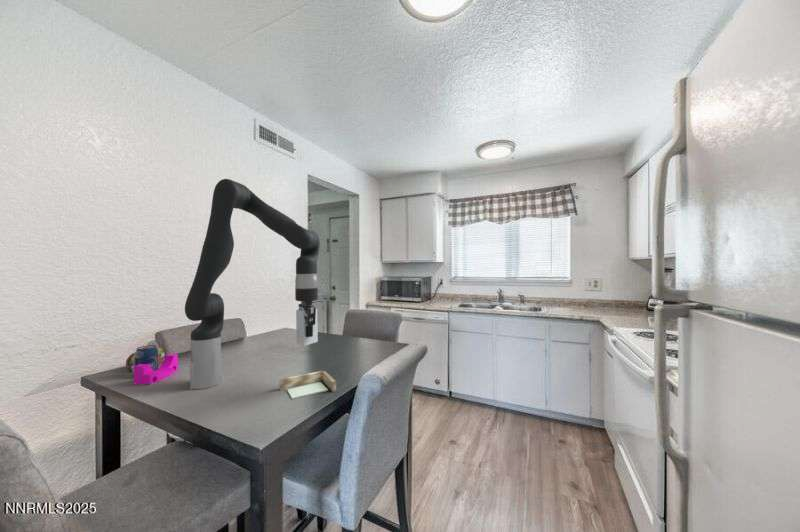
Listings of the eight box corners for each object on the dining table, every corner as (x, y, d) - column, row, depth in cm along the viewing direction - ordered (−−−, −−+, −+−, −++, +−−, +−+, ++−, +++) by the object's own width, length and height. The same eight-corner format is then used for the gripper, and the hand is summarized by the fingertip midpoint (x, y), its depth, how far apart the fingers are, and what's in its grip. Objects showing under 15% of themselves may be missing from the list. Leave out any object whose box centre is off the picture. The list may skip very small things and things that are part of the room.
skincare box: (309, 340, 105) (309, 307, 105) (317, 342, 103) (317, 308, 103) (295, 344, 100) (295, 309, 100) (303, 346, 98) (303, 310, 98)
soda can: (139, 382, 110) (139, 350, 110) (131, 378, 113) (131, 347, 113) (161, 376, 116) (161, 346, 116) (153, 373, 119) (153, 343, 119)
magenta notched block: (149, 387, 105) (149, 366, 105) (133, 387, 106) (133, 366, 106) (183, 372, 120) (183, 354, 120) (169, 372, 121) (169, 354, 121)
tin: (130, 375, 117) (130, 354, 117) (124, 375, 117) (124, 354, 117) (166, 363, 132) (166, 344, 132) (161, 362, 132) (161, 344, 132)
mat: (292, 399, 95) (292, 398, 95) (287, 390, 102) (287, 389, 102) (327, 390, 101) (327, 389, 101) (320, 382, 108) (320, 381, 108)
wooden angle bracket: (286, 403, 92) (286, 392, 92) (279, 389, 103) (279, 379, 103) (336, 391, 101) (336, 381, 101) (324, 379, 112) (324, 370, 112)
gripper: (323, 287, 98) (323, 337, 98) (311, 285, 110) (311, 330, 110) (300, 288, 94) (300, 341, 94) (290, 286, 106) (291, 332, 106)
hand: (306, 334), depth 102 cm, fingers closed on skincare box, 5 cm apart
